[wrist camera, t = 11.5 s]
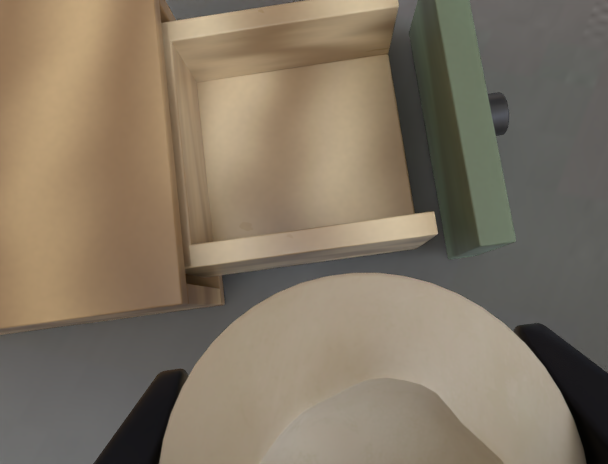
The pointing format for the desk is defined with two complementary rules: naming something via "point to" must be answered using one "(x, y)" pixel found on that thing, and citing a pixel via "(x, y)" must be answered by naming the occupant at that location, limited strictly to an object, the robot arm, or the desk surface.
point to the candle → (369, 383)
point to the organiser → (88, 167)
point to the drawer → (328, 135)
